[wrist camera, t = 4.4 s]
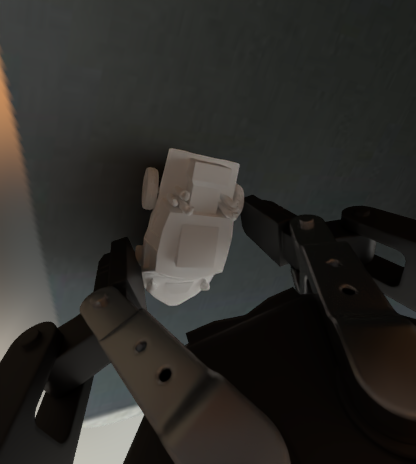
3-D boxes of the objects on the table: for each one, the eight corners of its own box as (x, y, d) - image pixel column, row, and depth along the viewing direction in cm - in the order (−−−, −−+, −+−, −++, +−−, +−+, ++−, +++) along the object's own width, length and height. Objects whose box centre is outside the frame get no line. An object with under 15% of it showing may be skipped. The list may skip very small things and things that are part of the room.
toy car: (238, 160, 12) (285, 176, 9) (204, 282, 15) (230, 331, 12) (147, 139, 10) (161, 149, 7) (129, 283, 13) (132, 342, 10)
